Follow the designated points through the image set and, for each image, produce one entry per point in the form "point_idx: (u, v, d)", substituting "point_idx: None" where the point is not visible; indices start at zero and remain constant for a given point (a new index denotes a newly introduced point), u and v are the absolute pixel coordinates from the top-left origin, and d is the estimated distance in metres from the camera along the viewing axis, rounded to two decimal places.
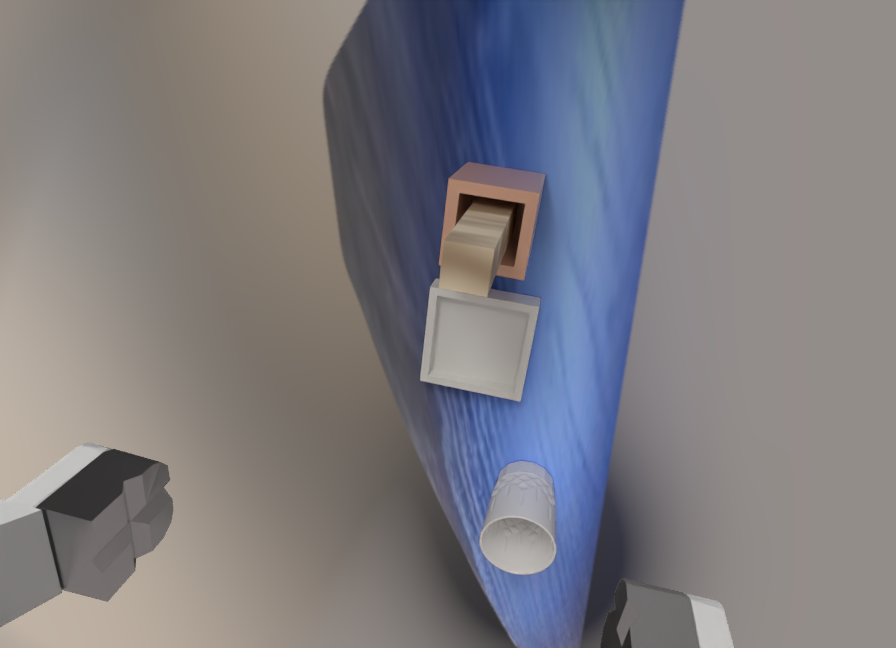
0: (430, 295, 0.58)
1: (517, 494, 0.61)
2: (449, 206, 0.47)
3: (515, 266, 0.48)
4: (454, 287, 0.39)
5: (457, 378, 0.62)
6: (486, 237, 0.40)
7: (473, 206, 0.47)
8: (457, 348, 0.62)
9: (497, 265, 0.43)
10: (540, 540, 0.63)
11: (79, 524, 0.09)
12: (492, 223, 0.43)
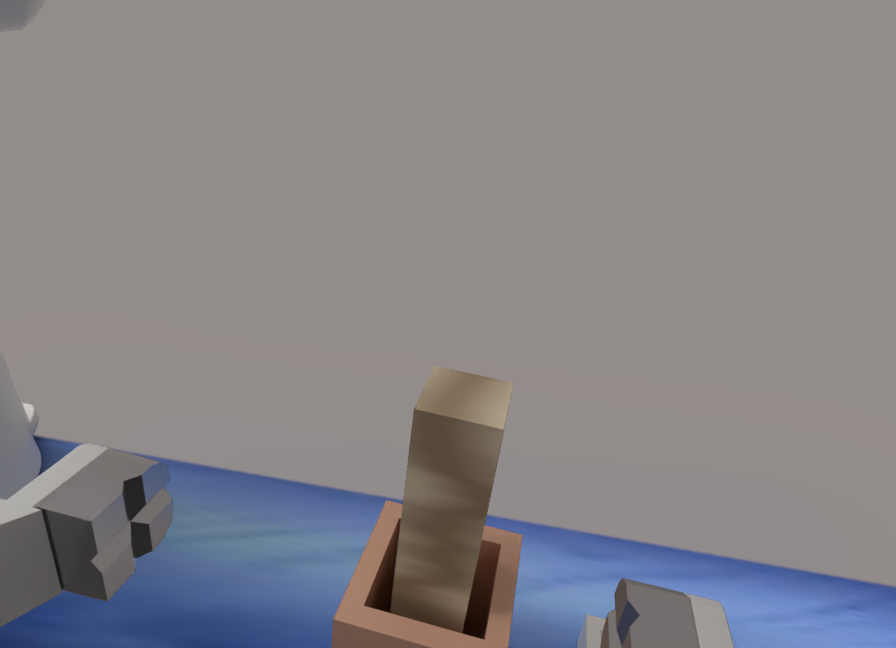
0: None
1: None
2: (385, 626, 0.24)
3: (499, 542, 0.29)
4: (501, 411, 0.22)
5: None
6: None
7: None
8: None
9: None
10: None
11: (78, 524, 0.09)
12: None
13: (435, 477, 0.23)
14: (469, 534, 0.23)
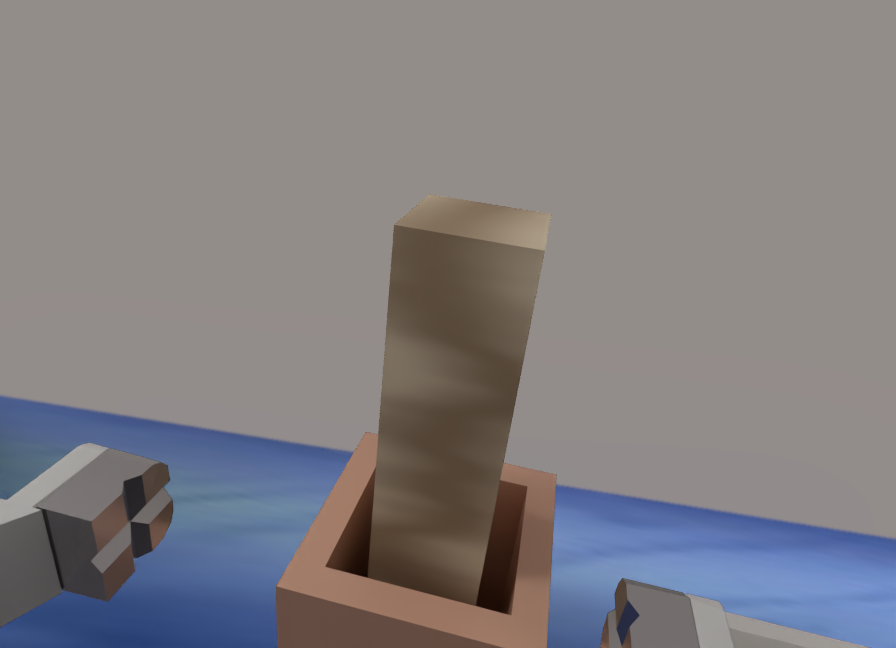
0: None
1: None
2: (357, 596, 0.16)
3: (525, 484, 0.21)
4: (537, 235, 0.13)
5: None
6: None
7: None
8: None
9: None
10: None
11: (79, 524, 0.09)
12: None
13: (430, 351, 0.14)
14: (485, 447, 0.15)
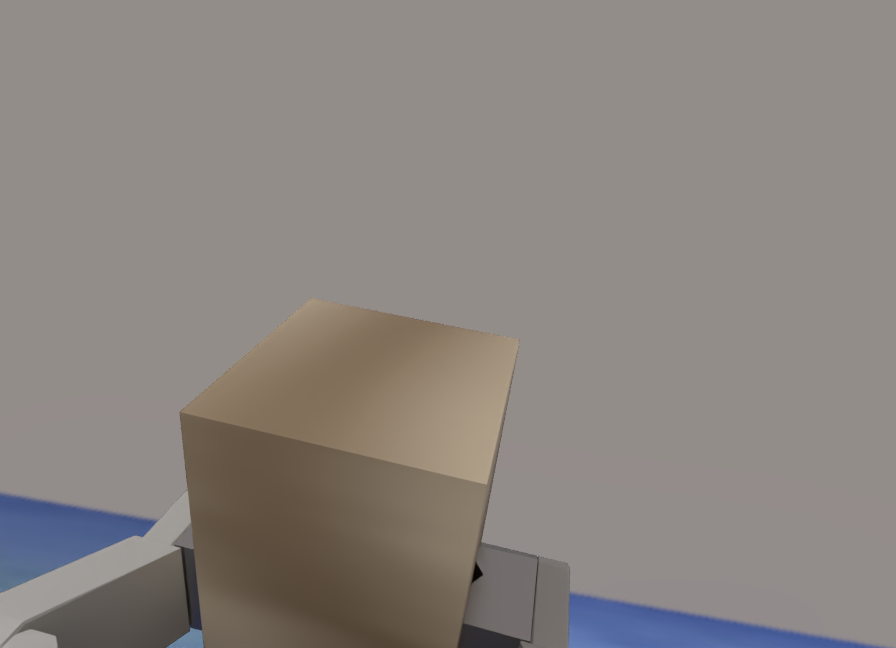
0: None
1: None
2: None
3: None
4: (480, 419, 0.07)
5: None
6: None
7: None
8: None
9: None
10: None
11: None
12: None
13: (282, 624, 0.07)
14: None
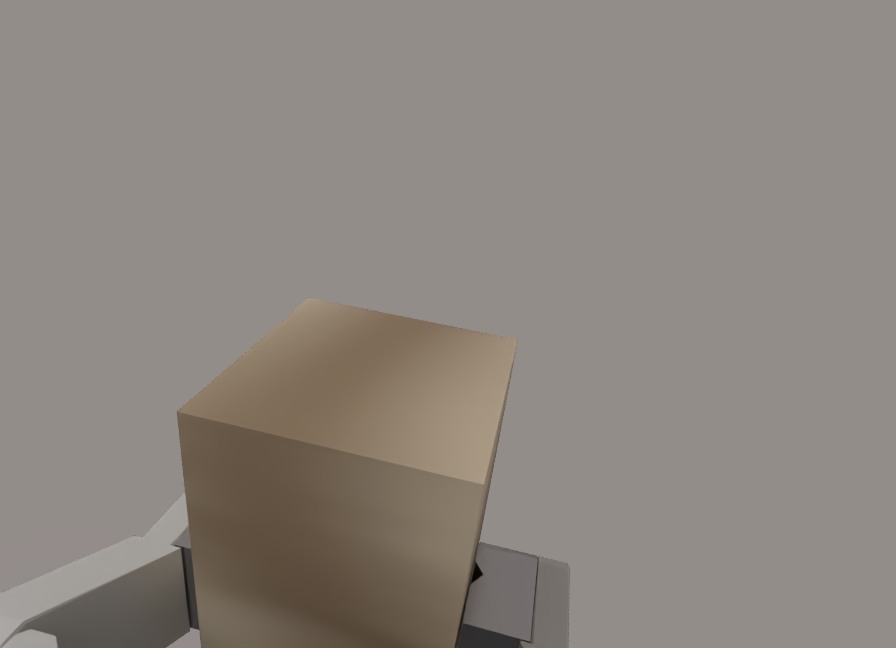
0: None
1: None
2: None
3: None
4: (477, 420, 0.07)
5: None
6: None
7: None
8: None
9: None
10: None
11: None
12: None
13: (280, 624, 0.07)
14: None
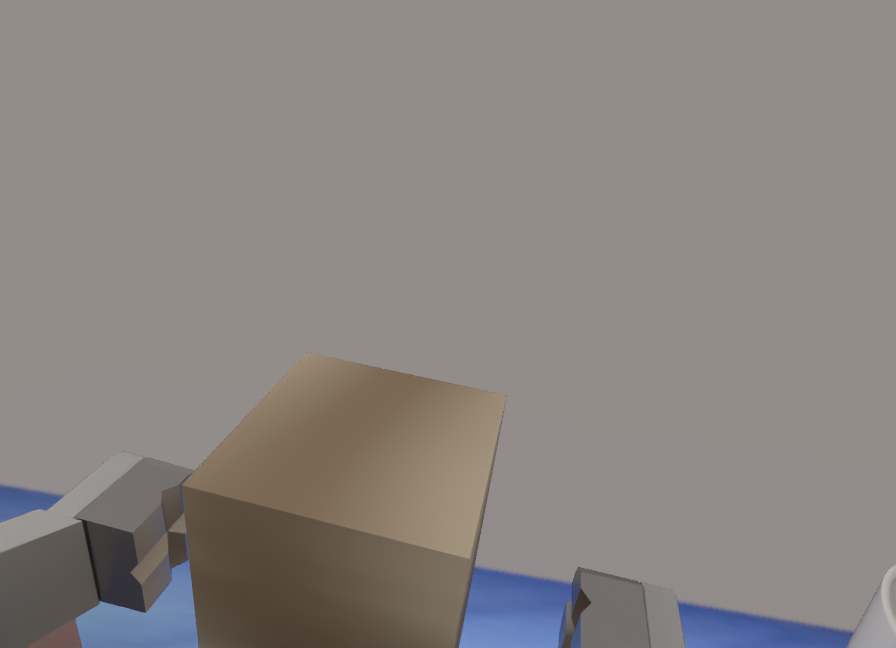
0: None
1: None
2: None
3: None
4: (465, 486, 0.07)
5: None
6: None
7: None
8: None
9: None
10: None
11: (120, 535, 0.09)
12: None
13: None
14: None
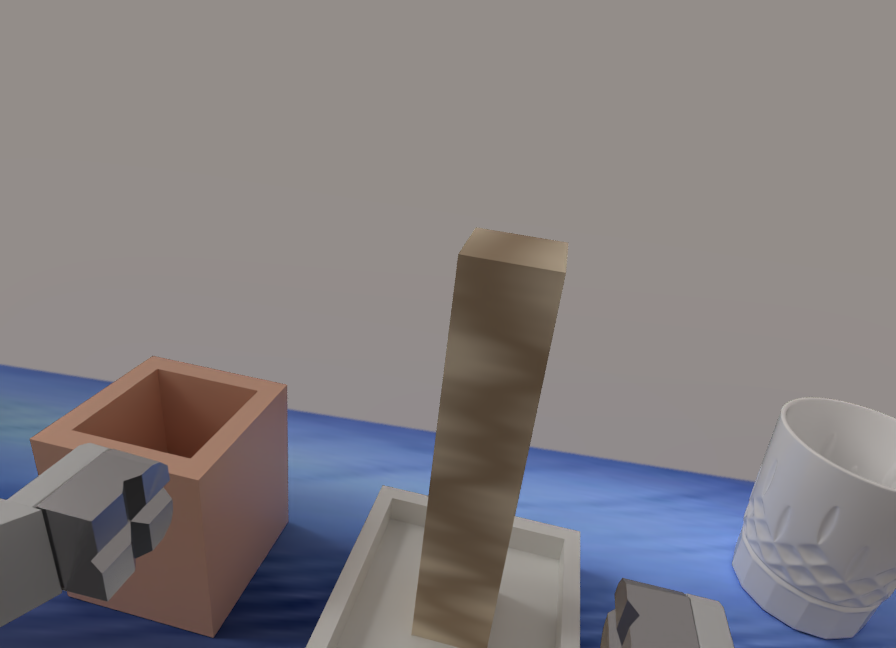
0: None
1: (771, 492, 0.29)
2: None
3: (257, 389, 0.28)
4: (559, 260, 0.19)
5: None
6: None
7: None
8: None
9: None
10: None
11: (79, 524, 0.09)
12: None
13: (481, 344, 0.19)
14: (520, 416, 0.20)
